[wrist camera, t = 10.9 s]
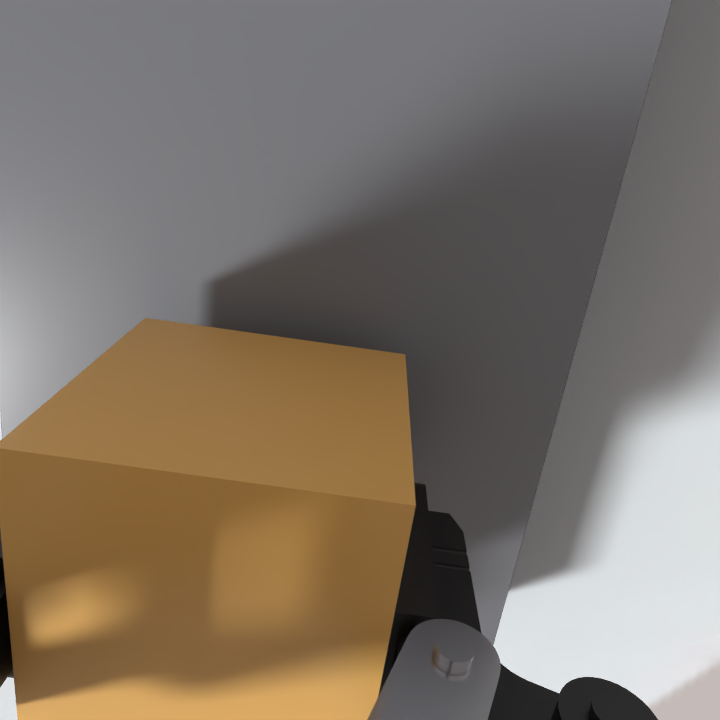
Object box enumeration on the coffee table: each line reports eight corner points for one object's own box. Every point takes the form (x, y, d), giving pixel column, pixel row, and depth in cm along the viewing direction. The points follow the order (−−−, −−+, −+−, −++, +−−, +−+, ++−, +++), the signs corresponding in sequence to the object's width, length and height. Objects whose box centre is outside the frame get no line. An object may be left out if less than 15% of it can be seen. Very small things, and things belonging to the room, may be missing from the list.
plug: (190, 278, 15) (-8, 448, 7) (402, 308, 15) (415, 505, 7) (180, 585, 18) (35, 914, 11) (352, 609, 18) (327, 952, 11)
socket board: (30, -479, 11) (-140, -761, 7) (712, -376, 11) (863, -602, 8) (72, 550, 19) (0, 651, 15) (467, 604, 19) (485, 716, 16)
